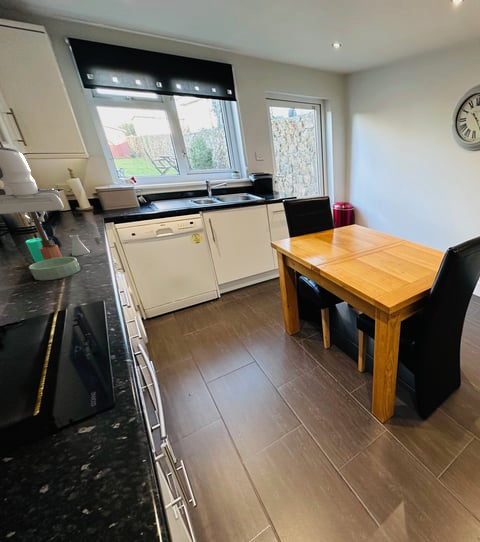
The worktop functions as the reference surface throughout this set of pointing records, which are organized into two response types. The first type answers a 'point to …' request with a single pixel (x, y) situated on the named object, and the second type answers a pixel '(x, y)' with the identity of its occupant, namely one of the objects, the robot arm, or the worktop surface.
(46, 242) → the stirring stick
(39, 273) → the mixing bowl
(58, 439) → the worktop surface
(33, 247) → the candle
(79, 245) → the flask
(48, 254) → the utensil pot
